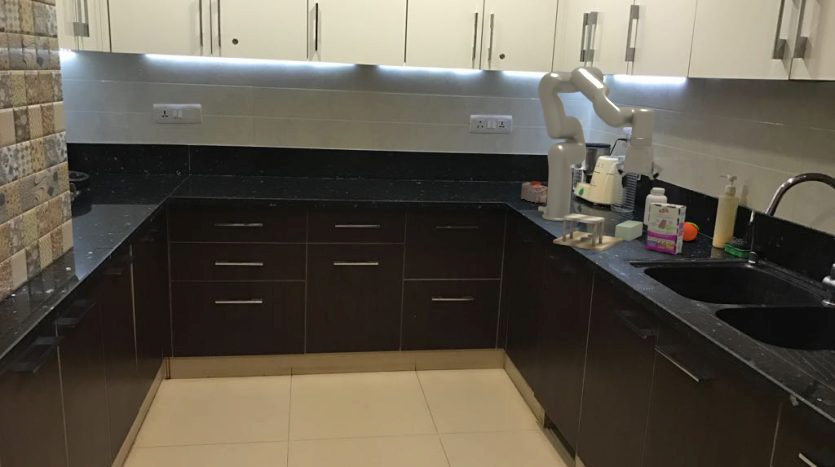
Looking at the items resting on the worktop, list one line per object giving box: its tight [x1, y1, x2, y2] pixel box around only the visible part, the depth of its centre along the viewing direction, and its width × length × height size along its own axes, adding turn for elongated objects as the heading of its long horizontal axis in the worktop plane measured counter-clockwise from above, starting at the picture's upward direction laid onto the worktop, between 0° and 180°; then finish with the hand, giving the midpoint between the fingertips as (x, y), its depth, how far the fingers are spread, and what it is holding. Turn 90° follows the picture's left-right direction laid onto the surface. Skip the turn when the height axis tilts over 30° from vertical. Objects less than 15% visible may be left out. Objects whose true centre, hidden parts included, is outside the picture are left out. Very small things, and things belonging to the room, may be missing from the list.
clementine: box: [683, 221, 700, 242], centre depth 257 cm, size 8×7×7 cm
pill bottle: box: [643, 187, 668, 226], centre depth 283 cm, size 8×8×15 cm
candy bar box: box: [645, 202, 687, 256], centre depth 240 cm, size 11×5×16 cm, turn 45°
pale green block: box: [614, 219, 644, 242], centre depth 261 cm, size 6×13×5 cm, turn 144°
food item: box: [520, 180, 548, 204], centre depth 329 cm, size 14×8×10 cm, turn 29°
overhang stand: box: [552, 213, 624, 252], centre depth 250 cm, size 18×20×10 cm
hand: (637, 188), depth 261 cm, fingers open, 9 cm apart
